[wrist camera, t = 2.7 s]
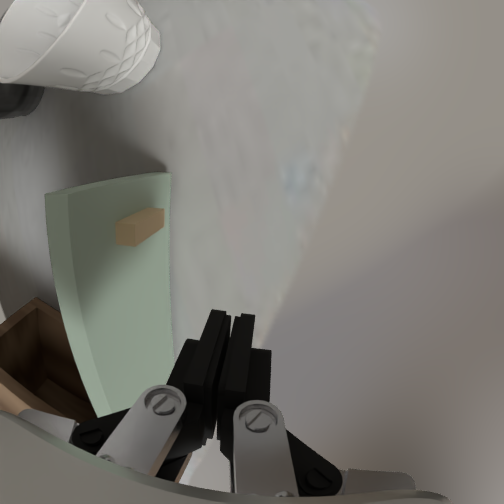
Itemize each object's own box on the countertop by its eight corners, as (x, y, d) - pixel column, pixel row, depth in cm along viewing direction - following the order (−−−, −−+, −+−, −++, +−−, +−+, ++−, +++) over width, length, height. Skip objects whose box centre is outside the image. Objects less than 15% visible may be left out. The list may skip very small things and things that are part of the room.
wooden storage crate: (151, 429, 27) (124, 499, 17) (46, 373, 27) (4, 425, 16) (166, 365, 23) (122, 461, 13) (35, 297, 22) (-32, 351, 12)
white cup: (91, 120, 17) (-10, 114, 7) (75, 47, 15) (-7, 19, 5) (182, 70, 16) (108, 8, 6) (156, -2, 13) (94, -67, 4)
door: (162, 366, 23) (119, 458, 13) (155, 172, 17) (44, 194, 7) (185, 371, 23) (149, 468, 13) (185, 173, 17) (90, 194, 7)
